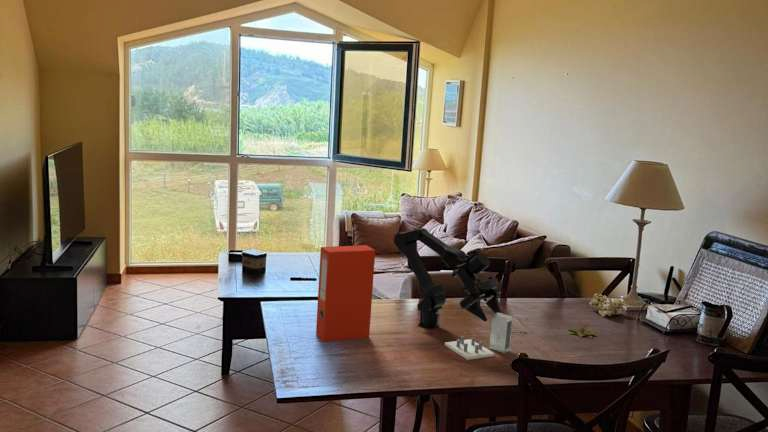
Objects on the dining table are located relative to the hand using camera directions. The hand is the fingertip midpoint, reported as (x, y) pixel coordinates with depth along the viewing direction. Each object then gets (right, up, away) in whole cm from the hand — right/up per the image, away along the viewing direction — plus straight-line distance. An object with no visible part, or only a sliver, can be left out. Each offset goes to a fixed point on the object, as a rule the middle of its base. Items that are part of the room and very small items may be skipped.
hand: (493, 318), depth 235 cm
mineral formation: (+57, -6, +52) cm, 77 cm away
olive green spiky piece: (+38, -10, +23) cm, 46 cm away
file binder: (-53, -7, +2) cm, 54 cm away
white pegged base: (-9, -11, -4) cm, 14 cm away
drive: (+2, -11, -1) cm, 11 cm away
